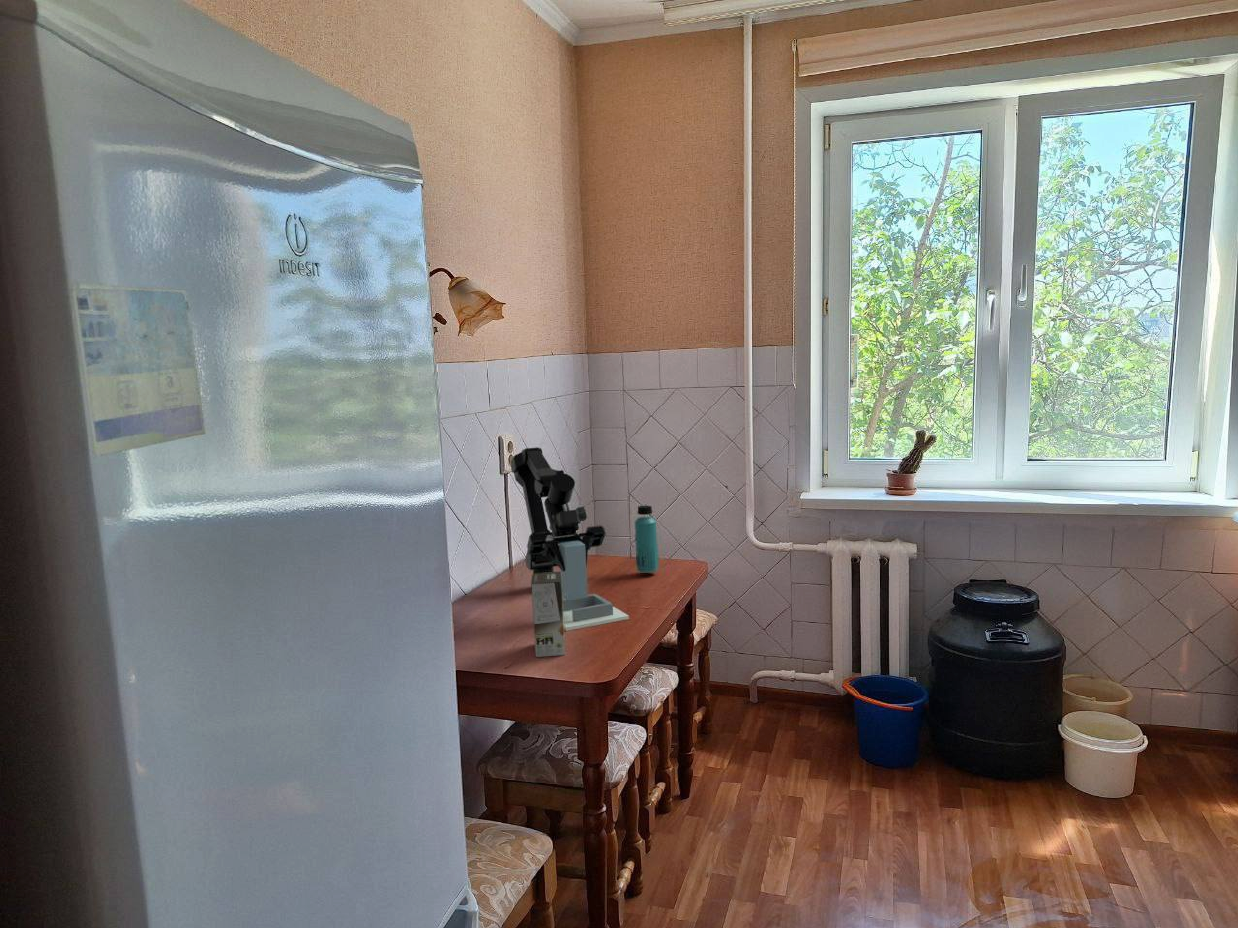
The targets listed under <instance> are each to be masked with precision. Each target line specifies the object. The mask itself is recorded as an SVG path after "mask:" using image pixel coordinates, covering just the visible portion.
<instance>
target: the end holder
mask: <svg viewBox="0 0 1238 928" xmlns="http://www.w3.org/2000/svg"><path fill="white" fill-rule="evenodd" d="M562 600H563V617H564V631H566V632H568V631H573V630H578V629H584V628H590V627H595V626H599V625H600V626H601V625H604V624H610V623H616V622H621V621H626V620H629V619H630V616H629V614H627V613H625V612H623V611H622V610H620V609H619V608H617V607H615V606H613V605H614V604H613V603H612V602H610V601H609V600H607V599H605V598H604V597H602V596H600V595H598V594H597V593H591V594H588V598H583V599H577V600H570V601H568V600H566V599H565V598H562Z"/></svg>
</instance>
